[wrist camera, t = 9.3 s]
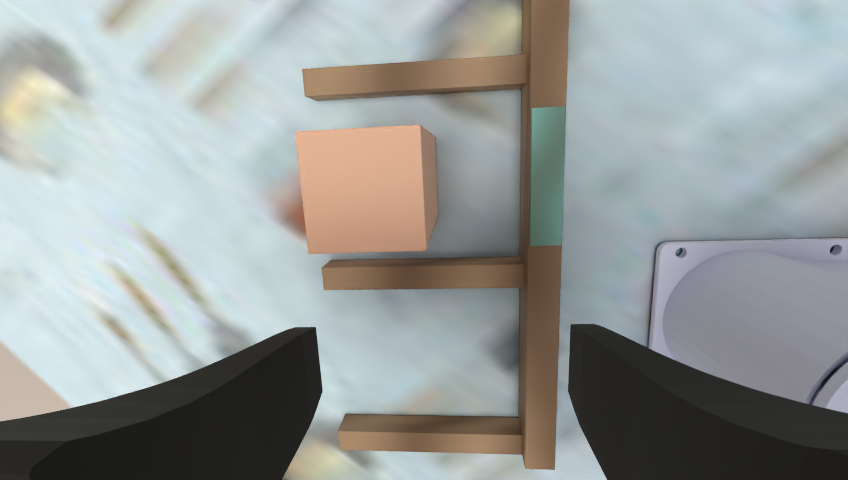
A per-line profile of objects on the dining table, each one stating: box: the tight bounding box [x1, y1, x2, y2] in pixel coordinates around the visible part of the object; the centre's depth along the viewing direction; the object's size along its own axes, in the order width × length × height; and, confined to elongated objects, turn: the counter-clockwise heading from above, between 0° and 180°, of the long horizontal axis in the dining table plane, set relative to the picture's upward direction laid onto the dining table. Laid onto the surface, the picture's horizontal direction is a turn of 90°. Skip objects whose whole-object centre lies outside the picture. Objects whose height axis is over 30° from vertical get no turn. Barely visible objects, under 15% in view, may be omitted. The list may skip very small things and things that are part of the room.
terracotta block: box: [295, 125, 438, 254], centre depth 17 cm, size 4×4×8 cm
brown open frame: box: [302, 0, 569, 470], centre depth 19 cm, size 12×30×3 cm, turn 2°
